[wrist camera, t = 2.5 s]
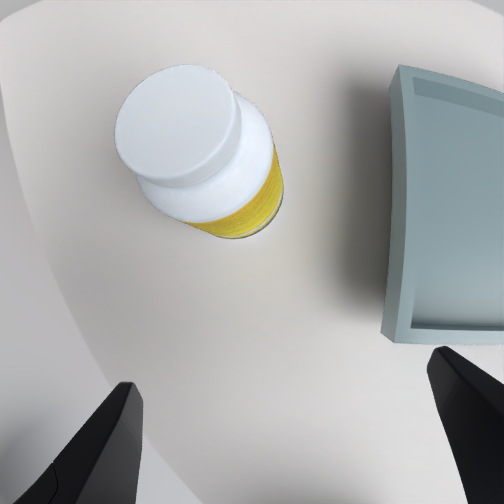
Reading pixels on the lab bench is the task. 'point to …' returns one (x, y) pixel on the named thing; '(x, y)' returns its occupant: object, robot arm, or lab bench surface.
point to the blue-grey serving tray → (445, 212)
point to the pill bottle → (201, 152)
